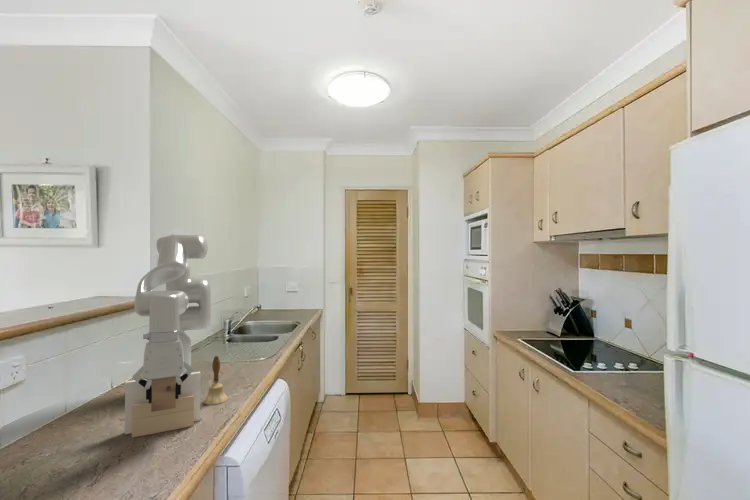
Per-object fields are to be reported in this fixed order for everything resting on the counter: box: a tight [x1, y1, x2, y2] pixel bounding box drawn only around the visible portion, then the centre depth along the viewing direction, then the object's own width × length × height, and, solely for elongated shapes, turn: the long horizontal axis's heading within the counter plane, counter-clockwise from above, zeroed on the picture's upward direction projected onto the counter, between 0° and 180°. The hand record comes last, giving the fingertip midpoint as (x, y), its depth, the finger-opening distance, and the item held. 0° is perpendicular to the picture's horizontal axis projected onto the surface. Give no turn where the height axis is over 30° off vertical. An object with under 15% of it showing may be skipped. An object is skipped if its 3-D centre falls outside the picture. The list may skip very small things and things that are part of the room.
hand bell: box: [202, 355, 229, 406], centre depth 137 cm, size 8×8×16 cm
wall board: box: [124, 371, 201, 438], centre depth 115 cm, size 5×20×15 cm, turn 118°
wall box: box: [151, 377, 176, 412], centre depth 111 cm, size 9×6×10 cm
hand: (163, 399), depth 109 cm, fingers closed on wall box, 6 cm apart
